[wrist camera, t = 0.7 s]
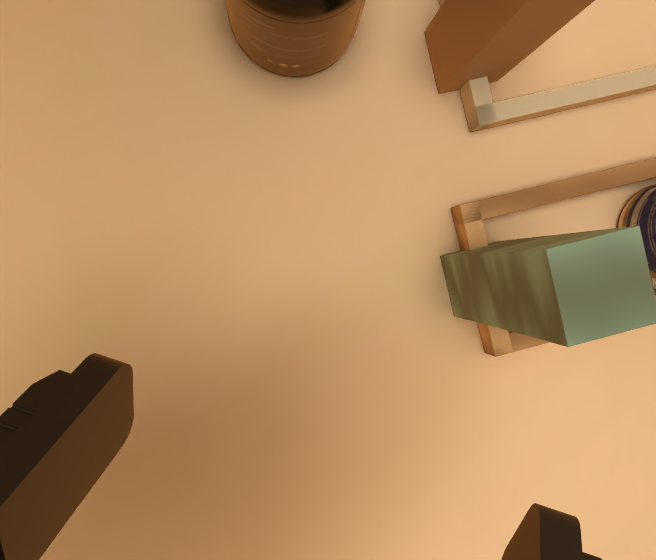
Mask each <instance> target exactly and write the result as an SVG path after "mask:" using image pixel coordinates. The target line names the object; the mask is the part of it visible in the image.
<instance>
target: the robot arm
mask: <svg viewBox="0 0 656 560" xmlns="http://www.w3.org/2000/svg"><path fill="white" fill-rule="evenodd" d="M133 417H134V409H133V372H132V367H131V366H130V365H129V364H126V363H123V362H120V361H117V360H114V359H111V358H108V357H105V356H102V355H100V354H96V353H94V354H91V355H89V356H88V357H87V358H86V359H85V360H84V361H83V362H82V363H81V364H80V365H79V366H78V367H77V368H76V369H75V370H74V371H73V372H72V373H71V374H70V373H67V372H64V371H61V370H58V371H57V372H55V373H53V374H51V375H49V376H47V377H45V378H43V379H41V380H39V381H37V382H36V383H34V384H32V385H31V386H30V387H29V388H28V389H27V390H26V391H25V392H24V393H23V394H22V395H21V396H20V397H19V398H18V399H17V400H16V401H15V402H14V403H13V405H12V407H11V408H8V409H7V410H6V411H5V412H4V413H3V414H2V415H1V416H0V560H39V559H40V557H41V556H42V555H43V553H44V552H45V551H46V549H47V548H48V546H49V545H50V544H51V542H52V541H53V540H54V538H55V537H56V536H57V534H58V533H59V531H60V530H61V529H62V527H63V526H64V525H65V523H66V522H67V521H68V519H69V518H70V517H71V515H72V514H73V512H74V511H75V510H76V508H77V507H78V506H79V504H80V503H81V502H82V500H83V499H84V498H85V496H86V495H87V493H88V492H89V491H90V489H91V488H92V487H93V485H94V484H95V483H96V481H97V480H98V479H99V477H100V476H101V474H102V473H103V472H104V470H105V469H106V468H107V466H108V465H109V464H110V462H111V461H112V459H113V458H114V457H115V455H116V454H117V453H118V451H119V450H120V449H121V447H122V446H123V444H124V443H125V441H126V439H127V437H128V435H129V432H130V430H131V427H132V423H133ZM502 560H602V559H601V558H598V557H595V556H593V555H590V554H587V553H584V552H582V542H581V529H580V523H579V520H578V519H577V517H575V516H572V515H569V514H566V513H563V512H560V511H557V510H554V509H551V508H548V507H545V506H542V505H539V504H536V503H535V504H533V505H532V506H531V507H530V509H529V510H528V512H527V514H526V515H525V517H524V519H523V520H522V522H521V524H520V525H519V527H518V529H517V530H516V532H515V534H514V535H513V537H512V539H511V540H510V542H509V544H508V545H507V547H506V549H505V551H504V554H503V557H502Z"/></svg>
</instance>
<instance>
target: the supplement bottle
mask: <svg viewBox="0 0 656 560" xmlns="http://www.w3.org/2000/svg"><path fill="white" fill-rule="evenodd" d="M365 1H366V0H225V3H226V8H227V12H228V16H229V20H230V24H231V28H232V30H233V33H234V35H235V37H236V40H237V41H238V43H239V45H240V46H241V48H242V49H243V50H244V52H245V53H246V54H247V55H248V56H249V57H250V58H251V59H252V60H253V61H254V62H256V63H257V64H258V65H260V66H262V67H263V68H265V69H267V70H269V71H272V72H274V73H278V74H281V75H287V76H303V75H309V74H313V73H316V72H319V71H321V70H323V69H325V68H327V67H328V66H330V65H331V64H333V63H334V62H335V61H336V60H337V59H338V58H339V57H340V56H341V55H342V54H343V53H344V52H345V50H346V49H347V47H348V46H349V44H350V42H351V40H352V38H353V36H354V33H355V31H356V28H357V25H358V22H359V19H360V16H361V13H362V10H363V7H364V4H365Z"/></svg>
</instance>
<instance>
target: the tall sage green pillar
mask: <svg viewBox="0 0 656 560" xmlns="http://www.w3.org/2000/svg"><path fill="white" fill-rule="evenodd" d="M653 177H656V158H653V159H648V160H644V161H640V162H636V163H632V164H628V165H624V166H620V167H615V168H611V169H607V170H603V171H599V172H595V173H591V174H587V175H583V176H578V177H574V178H570V179H566V180H562V181H558V182H554V183H550V184H546V185H541V186H537V187H533V188H529V189H525V190H521V191H517V192H513V193H509V194H504V195H500V196H496V197H492V198H488V199H484V200H480V201H476V202H472V203H467V204H463V205H459V206H456V207H453V208H451V211H452V215H453V219H454V224H455V228H456V232H457V236H458V241H459V245H460V249H461V251H458V252H454V253H450V254H446V255H442V256H440V257H441V262H442V266H443V270H444V274H445V279H446V283H447V287H448V291H449V295H450V300H451V304H452V308H453V312H454V316H456V317H460V318H464V319H467V320H471V321H475V322H478V326H479V330H480V334H481V338H482V343H483V347H484V351H485V353H487V354H490V355H492V356H495V357H496V356H500V355H504V354H508V353H511V352H515V351H519V350H523V349H526V348H530V347H534V346H538V345H541V344H545V343H549V342H552V343H556V344H559V345H563V346H567V347H570V346H574V345H577V344H581V343H585V342H589V341H592V340H596V339H600V338H603V337H607V336H611V335H615V334H618V333H622V332H626V331H630V330H633V329H637V328H641V327H645V326H648V325H652V324H656V289H653V285H652V280H651V276H650V271H649V267H648V262H647V258H646V253H645V249H644V244H643V240H642V235H641V231H640V226H632V227H623V228H614V229H605V230H596V231H587V232H578V233H569V234H560V235H551V236H542V237H533V238H524V239H516V240H507V241H498V242H494V243H490V244H488V242H487V238H486V233H485V229H484V225H483V221H482V219H487V218H491V217H495V216H499V215H503V214H507V213H511V212H515V211H519V210H523V209H527V208H531V207H535V206H539V205H543V204H548V203H552V202H556V201H560V200H564V199H568V198H572V197H576V196H580V195H584V194H588V193H592V192H596V191H600V190H604V189H609V188H613V187H617V186H621V185H625V184H629V183H633V182H637V181H641V180H645V179H649V178H653Z"/></svg>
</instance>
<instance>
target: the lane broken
mask: <svg viewBox="0 0 656 560" xmlns="http://www.w3.org/2000/svg"><path fill="white" fill-rule="evenodd" d="M593 1H595V0H439V3H440V7H441V8H440V9H439V11H438V12H437V14H436V15H435V17H434V18H433V20H432V21H431V23H430V24H429V26H428V28H427V29H426V31H425V32H424V33H425V37H426V42H427V46H428V50H429V54H430V59H431V63H432V67H433V72H434V76H435V80H436V84H437V89H438V93H439V94H441V93H445V92H450V91H454V90H459V89H460V93H461V97H462V102H463V106H464V110H465V114H466V119H467V123H468V127H469V132H473V131H477V130H482V129H486V128H490V127H495V126H499V125H503V124H507V123H512V122H516V121H520V120H525V119H529V118H533V117H537V116H542V115H546V114H550V113H555V112H559V111H563V110H568V109H572V108H576V107H580V106H585V105H589V104H593V103H598V102H602V101H606V100H610V99H615V98H619V97H623V96H628V95H632V94H636V93H640V92H645V91H649V90H653V89H656V65H655V66H651V67H646V68H642V69H638V70H633V71H629V72H624V73H620V74H616V75H611V76H607V77H603V78H598V79H594V80H590V81H585V82H581V83H577V84H572V85H568V86H564V87H559V88H555V89H550V90H546V91H542V92H537V93H533V94H529V95H524V96H520V97H516V98H511V99H507V100H503V101H498V102H494V103H493V99H492V95H491V91H490V86H489V83H490V82H494V81H498V80H499V79H500V78H501V77H503V76H504V75H505V74H506V73H508V72H509V71H510V70H511V69H512V68H514V67H515V66H516V65H517V64H518V63H520V62H521V61H522V60H523V59H524V58H526V57H527V56H528V55H529V54H530V53H532V52H533V51H534V50H535V49H537V48H538V47H539V46H540V45H541V44H543V43H544V42H545V41H546V40H547V39H549V38H550V37H551V36H552V35H553V34H555V33H556V32H557V31H558V30H560V29H561V28H562V27H563V26H564V25H566V24H567V23H568V22H569V21H570V20H572V19H573V18H574V17H575V16H576V15H578V14H579V13H580V12H581V11H582V10H584V9H585V8H586V7H587V6H589V5H590V4H591V3H592V2H593Z"/></svg>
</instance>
